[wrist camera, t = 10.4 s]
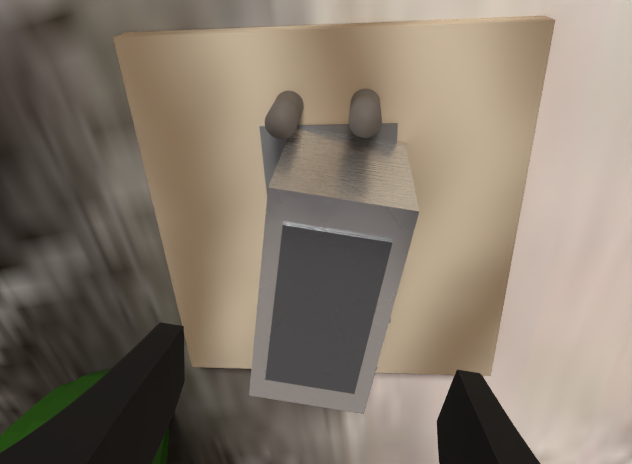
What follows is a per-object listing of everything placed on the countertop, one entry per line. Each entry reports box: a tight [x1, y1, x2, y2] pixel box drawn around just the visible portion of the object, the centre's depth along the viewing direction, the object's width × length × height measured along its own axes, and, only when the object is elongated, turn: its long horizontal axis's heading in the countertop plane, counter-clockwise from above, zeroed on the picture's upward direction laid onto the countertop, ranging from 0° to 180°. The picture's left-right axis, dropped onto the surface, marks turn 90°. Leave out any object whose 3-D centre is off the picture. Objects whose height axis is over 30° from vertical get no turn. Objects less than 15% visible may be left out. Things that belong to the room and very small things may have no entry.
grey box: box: [249, 127, 419, 414], centre depth 17 cm, size 4×8×5 cm, turn 172°
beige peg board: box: [113, 16, 555, 376], centre depth 19 cm, size 14×15×3 cm
